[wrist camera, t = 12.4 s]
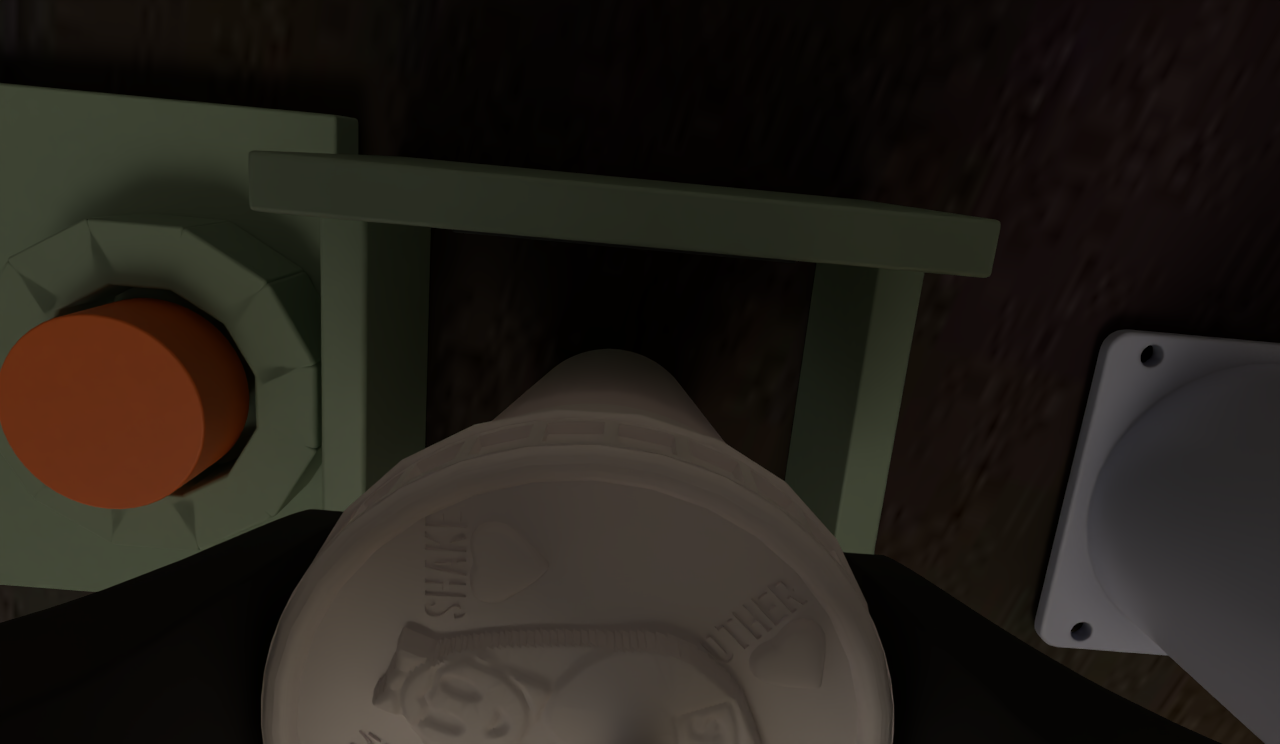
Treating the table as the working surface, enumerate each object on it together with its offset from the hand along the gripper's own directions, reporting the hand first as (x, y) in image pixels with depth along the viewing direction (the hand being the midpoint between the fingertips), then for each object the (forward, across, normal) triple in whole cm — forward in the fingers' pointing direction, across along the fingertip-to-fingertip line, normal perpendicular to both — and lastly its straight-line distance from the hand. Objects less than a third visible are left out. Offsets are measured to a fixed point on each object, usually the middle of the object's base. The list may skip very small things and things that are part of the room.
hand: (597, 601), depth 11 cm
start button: (+6, +9, -1) cm, 11 cm away
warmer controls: (+8, +10, 0) cm, 14 cm away
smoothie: (+7, 0, 0) cm, 7 cm away
